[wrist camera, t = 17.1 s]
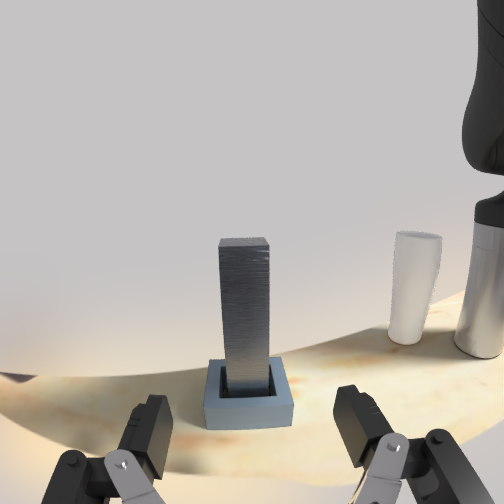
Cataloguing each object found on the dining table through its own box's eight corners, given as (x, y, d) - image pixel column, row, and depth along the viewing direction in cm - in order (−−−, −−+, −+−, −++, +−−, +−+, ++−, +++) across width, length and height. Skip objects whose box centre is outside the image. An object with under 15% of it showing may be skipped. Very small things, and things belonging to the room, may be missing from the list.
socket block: (279, 378, 28) (280, 356, 27) (291, 425, 20) (293, 403, 20) (212, 380, 27) (209, 359, 27) (207, 429, 20) (203, 407, 19)
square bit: (264, 391, 26) (264, 237, 22) (268, 413, 22) (269, 245, 19) (230, 392, 25) (221, 238, 22) (230, 415, 22) (218, 246, 19)
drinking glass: (374, 332, 36) (385, 231, 33) (406, 324, 37) (419, 230, 34) (400, 354, 30) (419, 239, 26) (433, 342, 31) (452, 238, 28)
